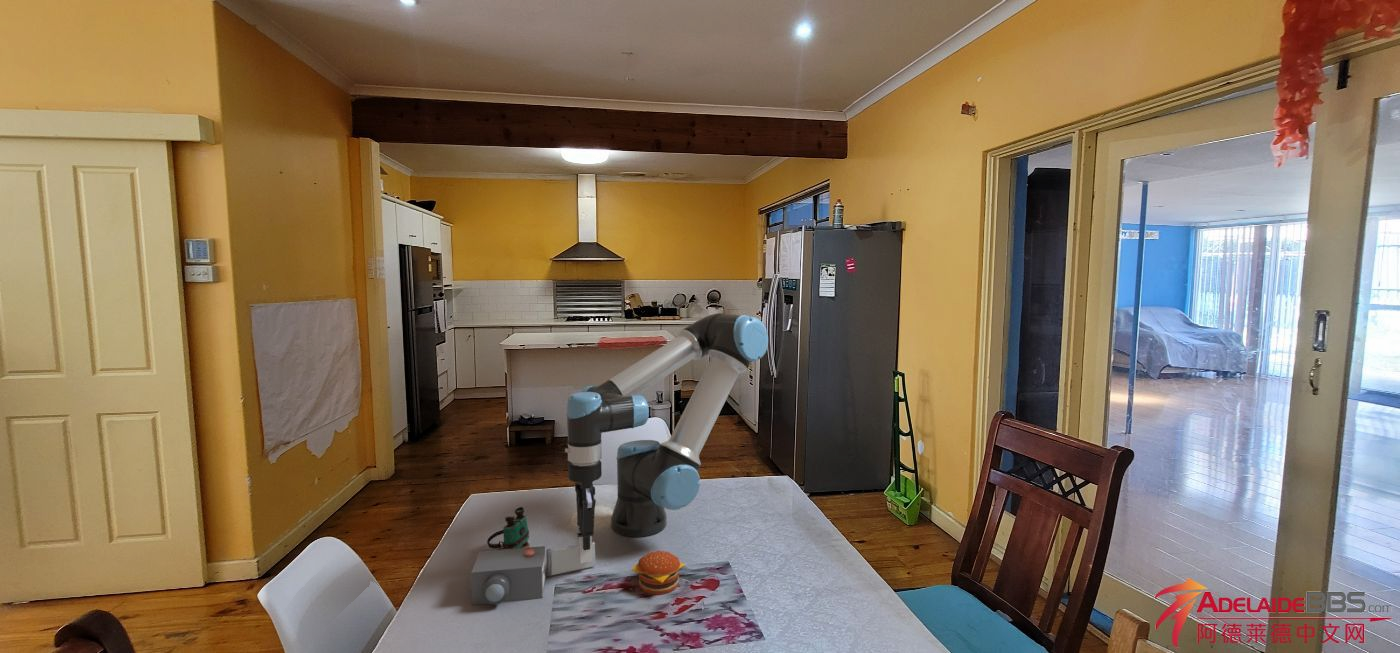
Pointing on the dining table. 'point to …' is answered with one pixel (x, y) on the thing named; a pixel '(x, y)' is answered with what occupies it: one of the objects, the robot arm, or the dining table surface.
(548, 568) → the side door
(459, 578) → the dining table surface
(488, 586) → the camera body
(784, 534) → the dining table surface
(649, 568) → the hamburger
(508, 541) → the binoculars
